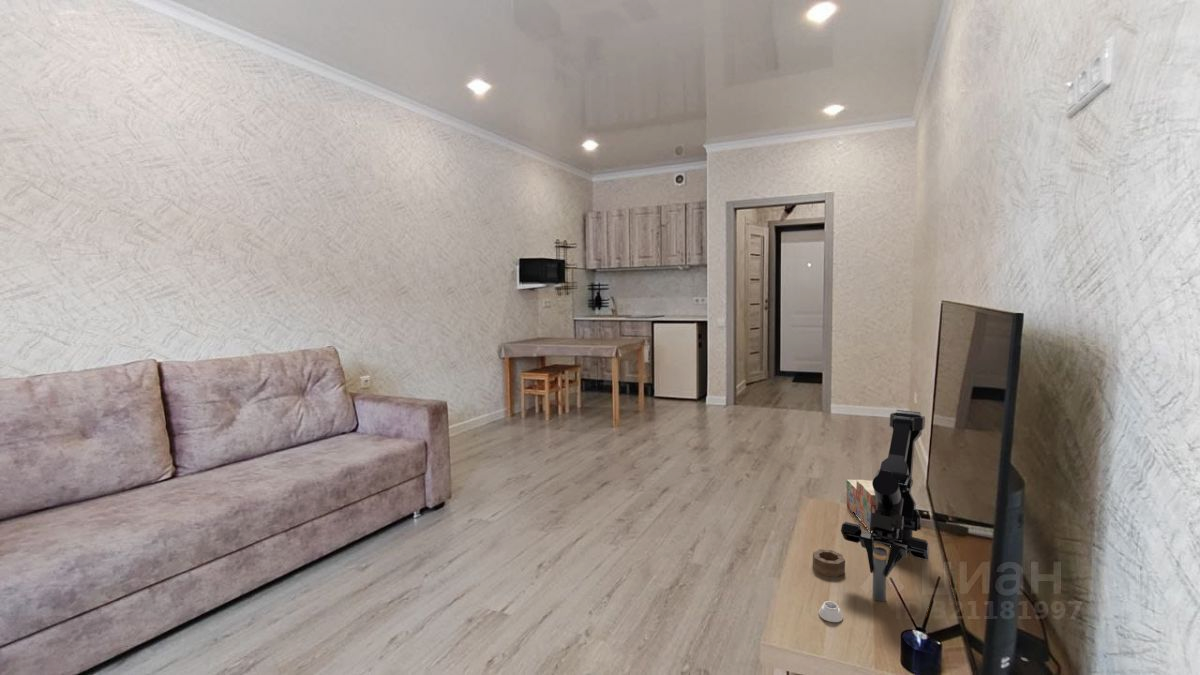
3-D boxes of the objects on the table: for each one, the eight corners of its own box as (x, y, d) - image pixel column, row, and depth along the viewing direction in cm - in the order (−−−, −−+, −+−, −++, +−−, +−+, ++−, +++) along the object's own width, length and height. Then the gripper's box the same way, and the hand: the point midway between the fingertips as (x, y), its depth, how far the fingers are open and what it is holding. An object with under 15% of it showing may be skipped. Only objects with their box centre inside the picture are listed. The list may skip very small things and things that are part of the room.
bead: (824, 559, 148) (824, 547, 148) (849, 570, 142) (849, 558, 142) (807, 567, 144) (807, 554, 144) (832, 579, 138) (832, 566, 138)
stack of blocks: (845, 505, 184) (846, 470, 183) (865, 505, 184) (865, 470, 182) (870, 533, 163) (870, 494, 162) (891, 534, 162) (892, 494, 161)
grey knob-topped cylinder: (876, 592, 131) (877, 545, 130) (888, 598, 129) (889, 550, 128) (869, 596, 130) (870, 549, 129) (881, 602, 127) (882, 554, 126)
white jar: (835, 610, 125) (814, 611, 125) (835, 598, 125) (815, 599, 125) (846, 623, 120) (825, 624, 120) (847, 610, 120) (825, 612, 120)
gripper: (843, 490, 136) (831, 549, 128) (929, 507, 125) (921, 573, 117) (850, 510, 143) (839, 567, 135) (932, 528, 132) (924, 591, 124)
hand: (878, 574), depth 128 cm, fingers closed on grey knob-topped cylinder, 3 cm apart
